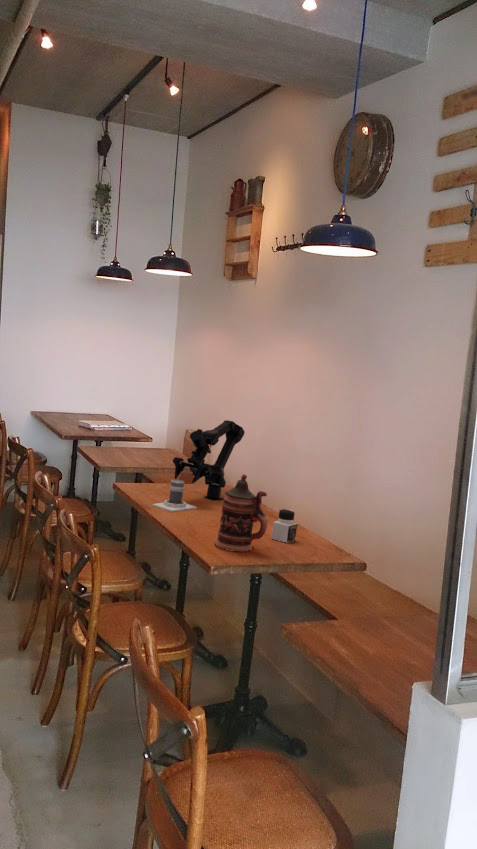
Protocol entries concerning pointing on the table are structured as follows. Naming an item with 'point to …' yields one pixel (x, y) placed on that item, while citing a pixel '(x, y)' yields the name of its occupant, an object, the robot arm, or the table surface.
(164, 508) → the board
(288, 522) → the medicine bottle
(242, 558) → the table surface
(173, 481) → the grey round piece
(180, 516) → the table surface
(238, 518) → the beer stein
